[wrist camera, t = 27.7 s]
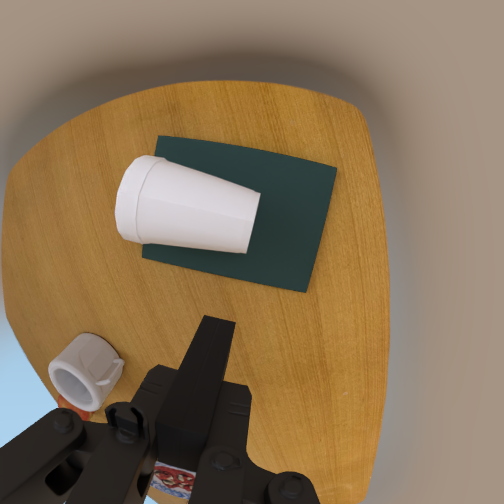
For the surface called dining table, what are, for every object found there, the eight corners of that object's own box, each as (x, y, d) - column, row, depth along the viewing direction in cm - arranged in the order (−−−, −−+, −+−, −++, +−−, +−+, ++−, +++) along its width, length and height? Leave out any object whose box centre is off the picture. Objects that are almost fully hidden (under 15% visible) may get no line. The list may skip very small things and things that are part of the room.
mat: (335, 168, 31) (337, 167, 30) (305, 289, 35) (305, 293, 34) (161, 136, 31) (158, 135, 30) (144, 255, 36) (141, 257, 35)
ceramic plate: (145, 482, 56) (142, 489, 54) (129, 444, 49) (125, 452, 47) (226, 500, 56) (224, 507, 53) (231, 468, 49) (230, 478, 46)
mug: (94, 379, 43) (71, 411, 34) (67, 334, 41) (37, 362, 31) (145, 376, 42) (124, 415, 32) (116, 325, 39) (85, 359, 29)
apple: (93, 413, 47) (79, 435, 39) (66, 390, 46) (49, 411, 38) (103, 401, 45) (87, 425, 38) (72, 376, 44) (54, 398, 36)
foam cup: (260, 197, 33) (161, 176, 33) (267, 161, 24) (139, 139, 24) (241, 273, 32) (138, 246, 32) (242, 263, 22) (104, 228, 22)
